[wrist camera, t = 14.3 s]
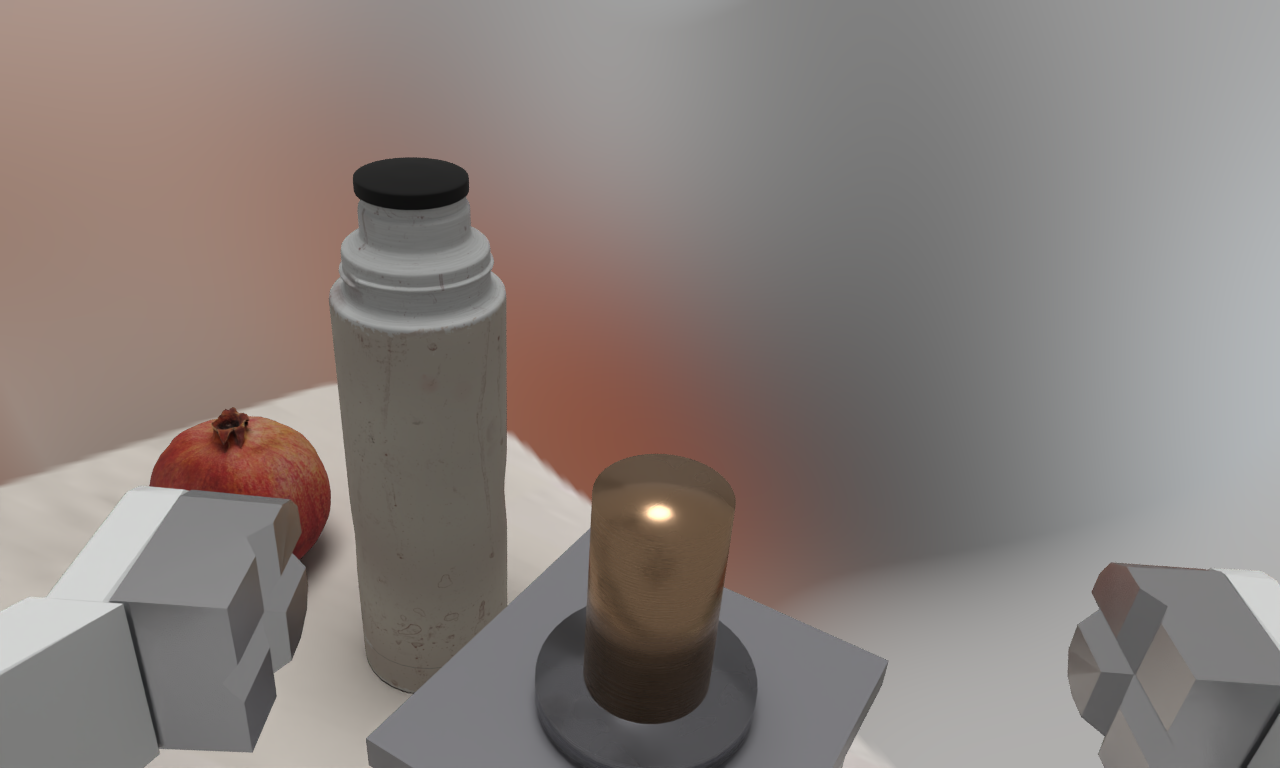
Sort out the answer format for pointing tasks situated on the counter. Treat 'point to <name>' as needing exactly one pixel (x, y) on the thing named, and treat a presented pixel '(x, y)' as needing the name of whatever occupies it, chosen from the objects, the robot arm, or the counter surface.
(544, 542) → the counter surface
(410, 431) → the thermos bottle
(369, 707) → the counter surface
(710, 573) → the brown candle holder
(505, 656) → the press carafe
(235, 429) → the fruit
